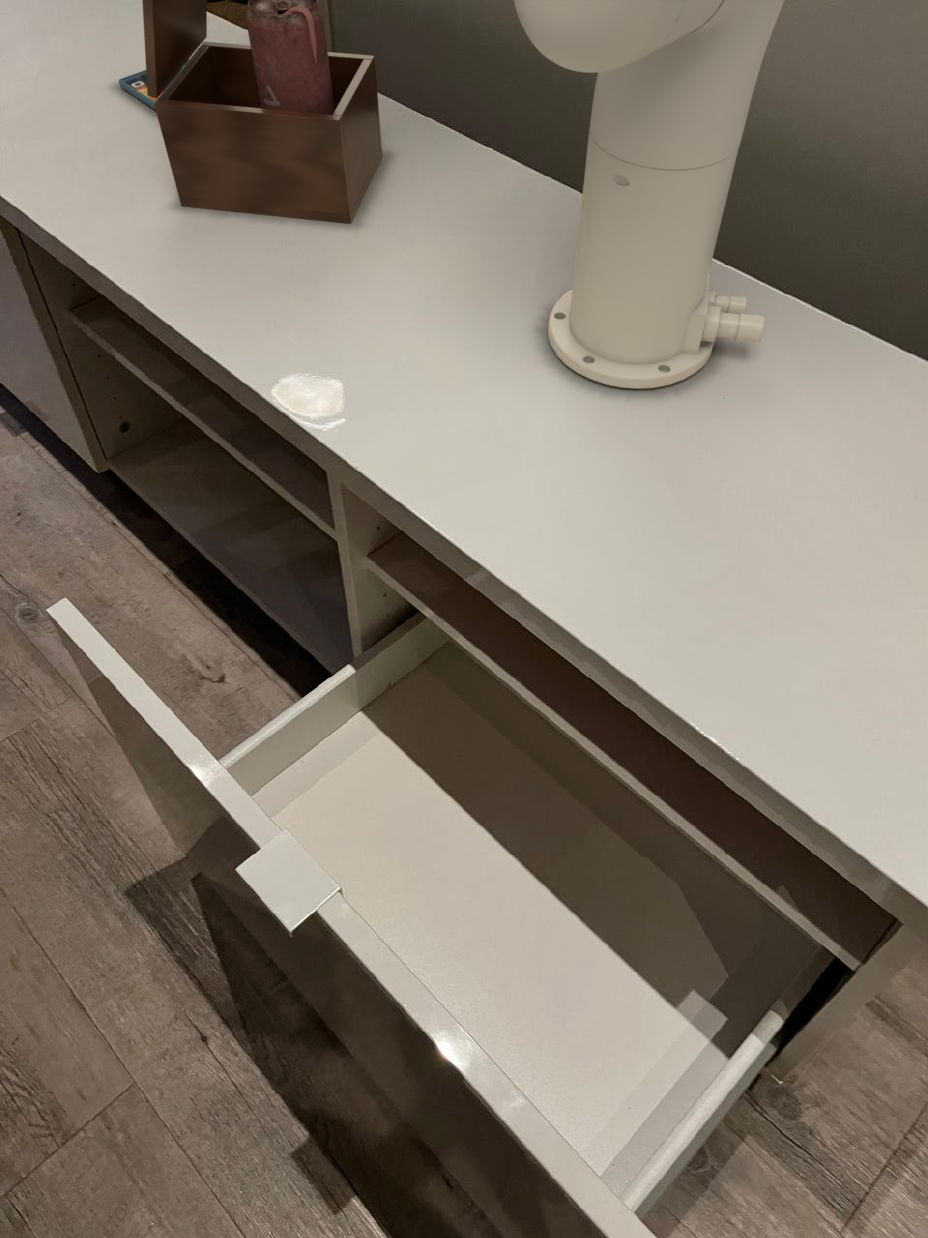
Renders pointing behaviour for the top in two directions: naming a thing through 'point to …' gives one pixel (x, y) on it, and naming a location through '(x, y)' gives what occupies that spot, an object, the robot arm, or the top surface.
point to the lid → (171, 38)
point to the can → (290, 55)
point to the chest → (269, 139)
